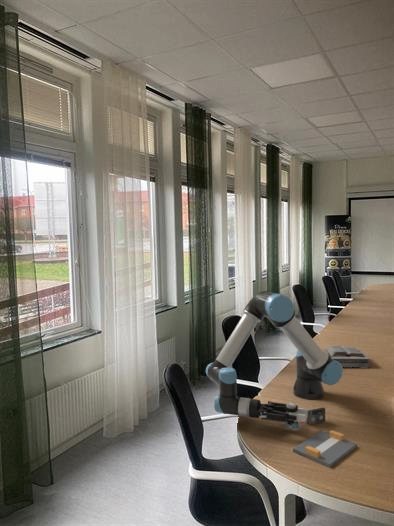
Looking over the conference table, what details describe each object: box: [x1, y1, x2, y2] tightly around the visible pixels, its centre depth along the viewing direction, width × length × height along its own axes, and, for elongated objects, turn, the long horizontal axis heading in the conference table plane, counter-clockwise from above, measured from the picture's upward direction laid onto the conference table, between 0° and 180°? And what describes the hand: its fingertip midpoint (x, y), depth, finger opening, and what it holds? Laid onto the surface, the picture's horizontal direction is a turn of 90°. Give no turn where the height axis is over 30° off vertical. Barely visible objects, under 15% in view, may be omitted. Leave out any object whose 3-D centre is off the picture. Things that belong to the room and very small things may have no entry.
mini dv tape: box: [306, 407, 326, 426], centre depth 174 cm, size 8×2×6 cm, turn 110°
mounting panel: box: [292, 429, 358, 469], centre depth 152 cm, size 20×15×3 cm
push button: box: [284, 401, 302, 430], centre depth 166 cm, size 7×5×10 cm
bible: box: [324, 345, 371, 368], centre depth 254 cm, size 23×27×10 cm
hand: (306, 415), depth 164 cm, fingers closed on push button, 5 cm apart
